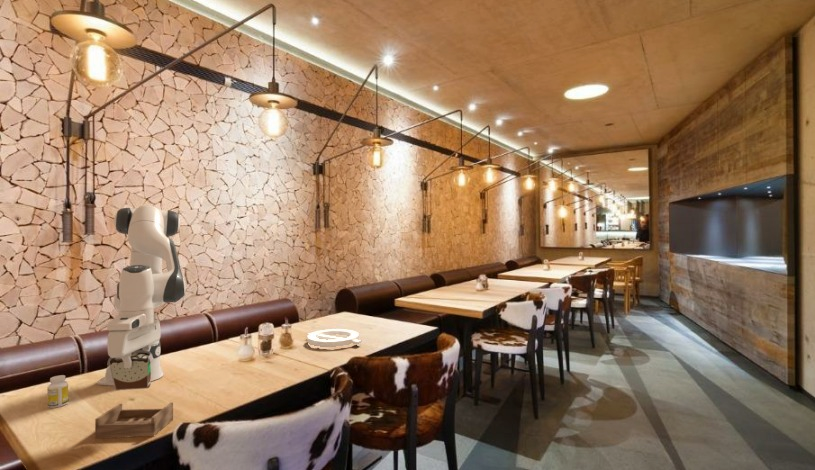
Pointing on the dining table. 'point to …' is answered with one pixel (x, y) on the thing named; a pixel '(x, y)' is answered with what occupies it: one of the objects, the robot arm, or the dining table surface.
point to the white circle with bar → (333, 338)
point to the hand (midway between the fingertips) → (136, 363)
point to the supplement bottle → (57, 392)
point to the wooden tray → (132, 422)
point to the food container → (132, 371)
